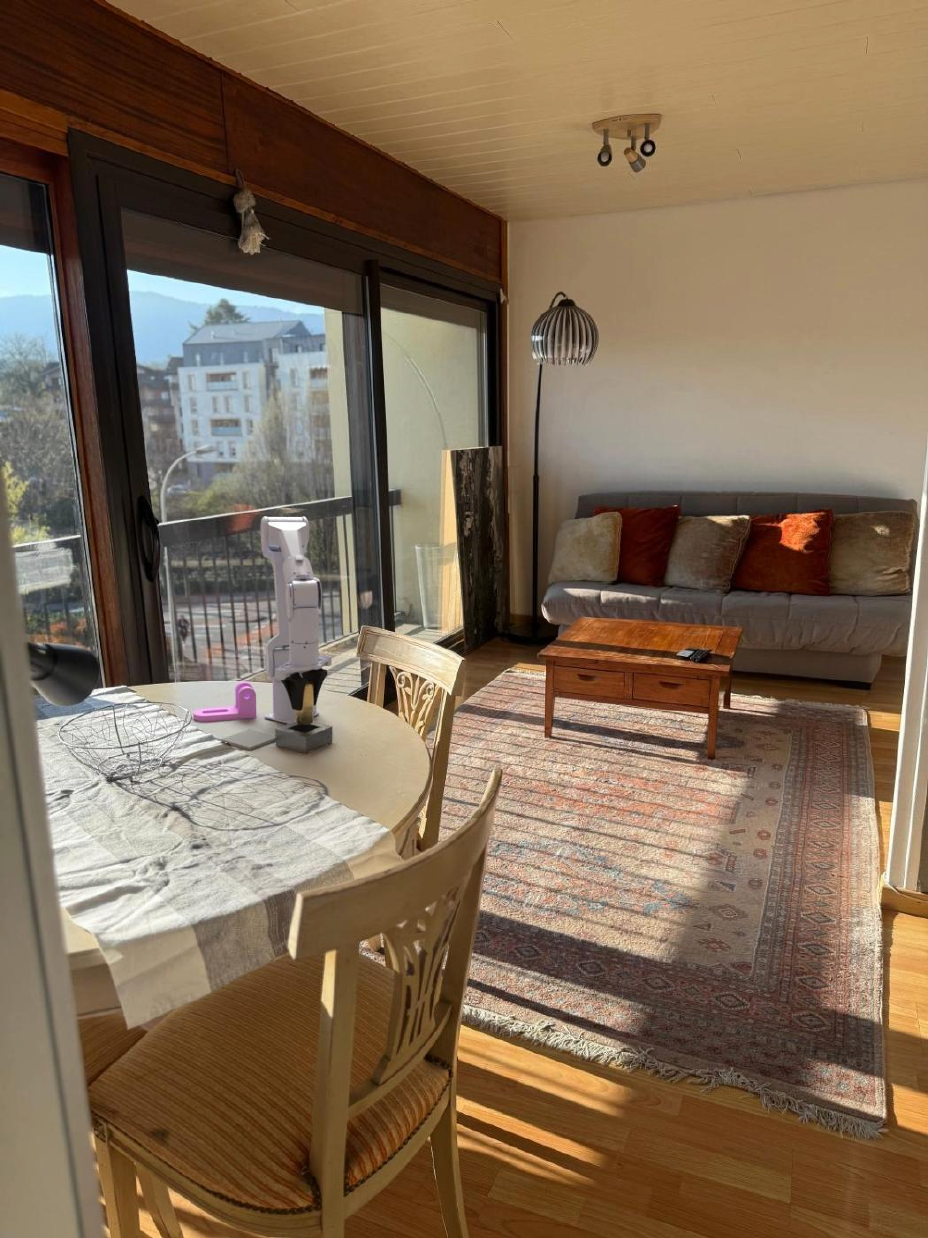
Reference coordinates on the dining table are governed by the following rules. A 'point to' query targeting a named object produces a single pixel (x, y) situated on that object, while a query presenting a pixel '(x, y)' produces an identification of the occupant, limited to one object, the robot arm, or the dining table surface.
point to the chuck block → (303, 736)
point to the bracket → (241, 710)
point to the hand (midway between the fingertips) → (304, 707)
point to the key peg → (306, 706)
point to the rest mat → (249, 739)
